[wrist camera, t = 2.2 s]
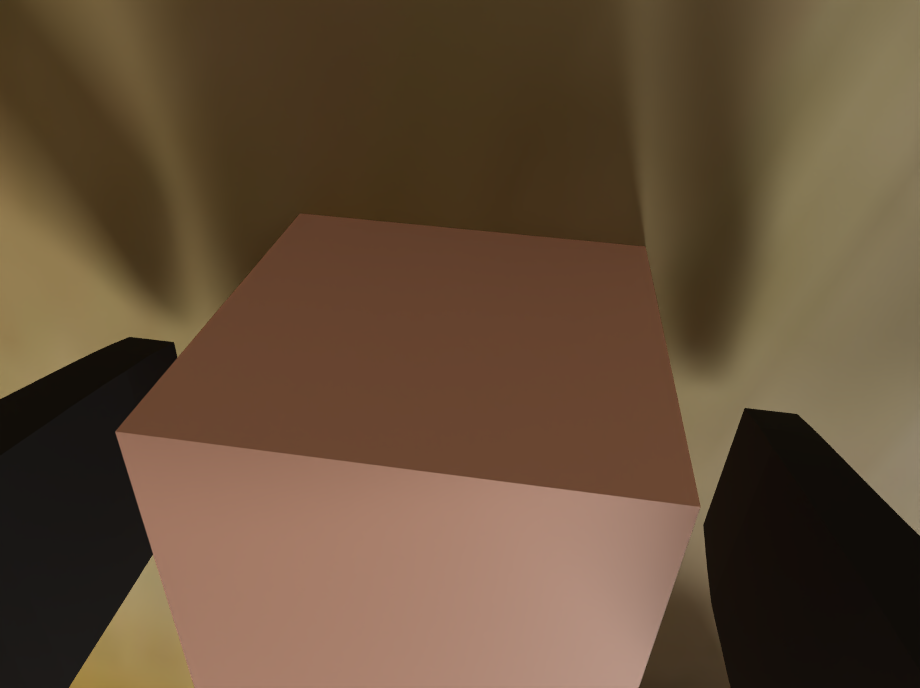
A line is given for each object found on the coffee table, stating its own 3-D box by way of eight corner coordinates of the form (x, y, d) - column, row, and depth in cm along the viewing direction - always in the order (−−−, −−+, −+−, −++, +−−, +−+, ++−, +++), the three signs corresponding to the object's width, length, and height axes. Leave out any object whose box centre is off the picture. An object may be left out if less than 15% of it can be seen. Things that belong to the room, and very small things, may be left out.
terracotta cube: (324, 460, 12) (207, 729, 8) (302, 210, 9) (116, 430, 5) (592, 494, 11) (602, 794, 7) (644, 244, 9) (700, 507, 5)
